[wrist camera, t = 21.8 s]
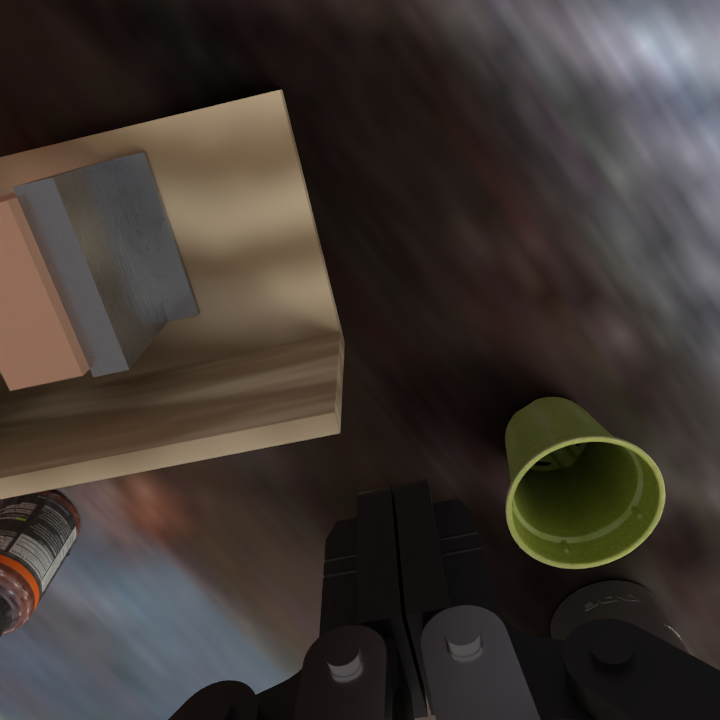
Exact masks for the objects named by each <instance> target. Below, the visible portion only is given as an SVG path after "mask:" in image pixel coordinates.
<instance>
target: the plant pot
mask: <svg viewBox="0 0 720 720" xmlns="http://www.w3.org/2000/svg"><path fill="white" fill-rule="evenodd" d="M577 443H581V444H580V445H579V446H576V445H575V444H577ZM505 444H506V452H507V458H508V465H509V472H510V481H511V484H510V486H509V489H508V492H507V497H506V506H505V511H506V520H507V524H508V527H509V530H510V533H511V535H512V537H513V538H514V540H515V541H516V543H517V544H518V545H519V546H520V548H521V549H522V550H523V551H525V552H526V553H527V554H528V555H530V556H531V557H533V558H534V559H536V560H538V561H540V562H542V563H545V564H548V565H551V566H554V567H559V568H567V569H584V568H590V567H596V566H600V565H603V564H607V563H610V562H612V561H614V560H616V559H619V558H621V557H623V556H625V555H626V554H628V553H630V552H631V551H633V550H634V549H635V548H636V547H638V546H639V545H640V544H641V543H642V542H643V541H644V540H645V539H646V538H647V537H648V536H649V535H650V534H651V532H652V531H653V530H654V528H655V526H656V525H657V523H658V521H659V520H660V518H661V515H662V511H663V507H664V503H665V486H664V481H663V477H662V475H661V472H660V470H659V468H658V467H657V465H656V464H655V462H654V461H653V460H652V459H651V458H650V456H649V455H647V454H646V453H645V452H644V451H643V450H642V449H640V448H639V447H637V446H636V445H634V444H632V443H630V442H628V441H625V440H623V439H620V438H616V437H613V436H612V435H611V434H610V433H609V432H608V431H606V430H605V429H604V428H603V427H602V426H601V425H600V424H599V423H598V422H597V421H595V420H594V419H593V418H592V417H591V416H590V415H589V414H588V413H587V412H586V411H585V410H584V409H583V408H581V407H580V406H579V405H578V404H576V403H574V402H573V401H570V400H568V399H565V398H560V397H545V398H540V399H537V400H534V401H533V402H531V403H530V404H529V405H527V406H526V407H524V408H522V409H521V410H519V411H517V412H516V413H515V414H514V415H513V417H512V418H511V420H510V421H509V423H508V425H507V428H506V433H505ZM537 461H540V462H551V463H550V464H549V465H535V463H536V462H537Z"/></svg>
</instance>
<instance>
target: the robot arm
mask: <svg viewBox="0 0 720 720" xmlns="http://www.w3.org/2000/svg"><path fill="white" fill-rule="evenodd" d="M394 495H395V496H394ZM550 631H551V638H552V639H548V638H541V637H536V636H532V635H529V634H526V633H524V632H522V631H520V630H518V629H517V628H515V627H513V626H512V625H511V624H510V623H509V622H507V620H506V619H505V618H504V617H503V616H502V614H501V612H500V611H499V608H498V605H497V602H496V598H495V594H494V591H493V587H492V583H491V580H490V576H489V572H488V569H487V565H486V561H485V558H484V554H483V550H482V547H481V543H480V539H479V536H478V532H477V528H476V525H475V521H474V517H473V514H472V512H471V511H470V510H469V509H468V508H467V507H466V506H465V505H464V504H463V503H462V502H461V501H460V500H459V499H454V500H448V501H443V502H438V503H433V501H432V496H431V491H430V487H429V482H428V479H427V480H421V481H416V482H411V483H406V484H400V485H395V486H394V493H393V489H392V487H385V488H380V489H375V490H370V491H365V492H359V493H357V518H353V519H348V520H343V521H337V522H336V524H335V525H334V527H333V529H332V531H331V532H330V534H329V536H328V537H327V539H326V546H325V563H324V578H323V590H322V605H321V619H320V634H319V638H318V639H317V640H316V641H315V642H314V643H313V644H312V645H311V647H310V648H309V650H308V651H307V654H306V656H305V658H304V662H303V667H302V669H301V670H300V671H299V672H298V673H297V674H295V675H294V676H292V677H291V678H289V679H288V680H286V681H284V682H282V683H280V684H278V685H276V686H274V687H272V688H269V689H267V690H265V691H263V692H261V693H259V694H257V695H255V693H254V691H253V690H252V689H251V688H250V687H249V686H248V685H246V684H244V683H242V682H239V681H232V680H227V681H220V682H217V683H213V684H211V685H209V686H206V687H205V688H203V689H201V690H199V691H198V692H197V693H195V694H194V695H193V696H192V697H190V698H189V699H188V700H187V701H186V702H185V703H184V704H183V705H182V706H181V707H180V708H179V709H178V710H177V711H176V712H175V713H174V714H173V715H172V716H171V717H170V718H169V719H168V720H414V718H420V717H427V716H428V713H427V704H426V695H427V699H428V703H429V707H430V711H431V715H435V717H436V720H720V670H718V669H716V668H714V667H712V666H710V665H709V664H707V663H705V662H703V661H701V660H699V659H697V658H696V657H694V656H692V655H690V654H689V652H688V650H687V649H686V647H685V645H684V644H683V642H682V640H681V638H680V636H679V635H678V633H677V631H676V630H675V628H674V626H673V624H672V623H671V621H670V619H669V618H668V616H667V614H666V612H665V611H664V609H663V607H662V606H661V604H660V602H659V601H658V599H657V598H656V597H655V595H654V594H653V593H651V592H650V591H649V590H648V589H646V588H644V587H642V586H640V585H638V584H635V583H631V582H628V581H617V580H613V581H602V582H598V583H594V584H590V585H588V586H586V587H583V588H581V589H579V590H577V591H576V592H574V593H573V594H571V595H569V596H568V597H567V598H566V599H565V600H564V601H563V602H562V603H561V604H560V605H559V607H558V608H557V610H556V611H555V613H554V615H553V618H552V620H551V627H550ZM425 692H426V695H425Z"/></svg>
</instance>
